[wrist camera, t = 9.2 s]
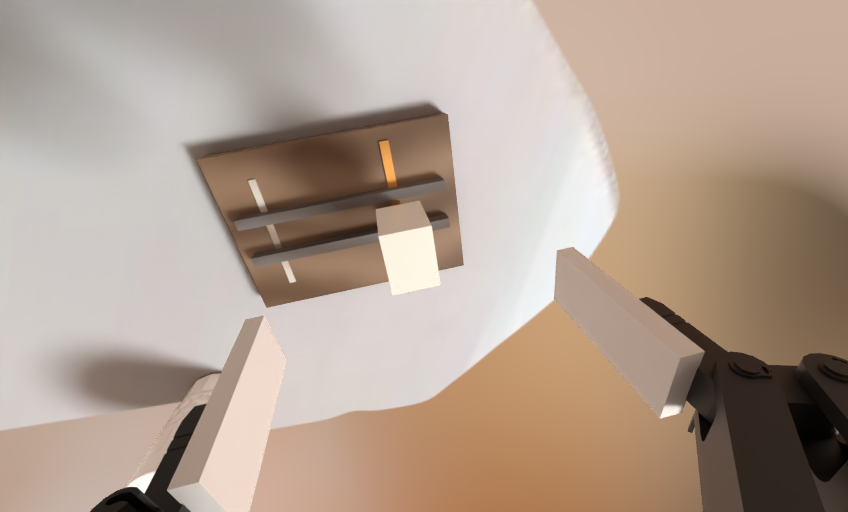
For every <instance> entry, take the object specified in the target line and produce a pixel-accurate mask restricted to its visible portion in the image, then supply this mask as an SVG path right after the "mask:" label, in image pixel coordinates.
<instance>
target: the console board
mask: <svg viewBox="0 0 848 512" xmlns="http://www.w3.org/2000/svg"><path fill="white" fill-rule="evenodd" d="M197 162H198V164H199V166H200V168H201V170H202V172H203V174H204V176H205V178H206V181H207V183H208V185H209V187H210V189H211V191H212V193H213V195H214V198H215V200H216V202H217V204H218V206H219V208H220V210H221V212H222V214H223V217H224V219H225V221H226V223H227V225H228V227H229V229H230V231H231V233H232V236H233V238H234V240H235V242H236V244H237V246H238V248H239V250H240V252H241V255H242V257H243V259H244V261H245V263H246V265H247V267H248V269H249V272H250V274H251V276H252V278H253V280H254V282H255V284H256V286H257V288H258V291H259V293H260V295H261V297H262V299H263V301H264V303H265V305H266V307H272V306H277V305H281V304H286V303H290V302H295V301H300V300H304V299H309V298H314V297H318V296H323V295H328V294H332V293H337V292H341V291H346V290H351V289H355V288H360V287H365V286H369V285H374V284H379V283H383V282H388V281H389V279H388V275H387V270H386V266H385V262H384V258H383V254H382V249H381V245H380V241H379V237H378V228H377V218H376V209H379V208H384V207H389V206H394V205H400V204H405V203H410V202H415V201H420V203H421V205H422V207H423V209H424V211H425V213H426V215H427V217H428V219H429V221H430V223H431V225H432V231H433V237H434V244H435V251H436V258H437V264H438V271H439V270H443V269H448V268H453V267H457V266H462V265H464V264H463V254H462V245H461V236H460V226H459V217H458V207H457V198H456V188H455V179H454V169H453V160H452V150H451V141H450V131H449V122H448V114H445V113H440V114H434V115H429V116H423V117H418V118H412V119H407V120H401V121H395V122H390V123H384V124H379V125H373V126H368V127H362V128H357V129H351V130H345V131H340V132H334V133H329V134H323V135H318V136H312V137H306V138H301V139H295V140H290V141H284V142H279V143H273V144H268V145H262V146H256V147H251V148H245V149H240V150H234V151H229V152H223V153H217V154H212V155H206V156H204V157H202V158H199V159H197Z"/></svg>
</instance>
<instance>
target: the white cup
mask: <svg viewBox="0 0 848 512" xmlns="http://www.w3.org/2000/svg"><path fill="white" fill-rule="evenodd" d="M220 374H221V373H218V374H210V375H208V376H205V377H203V378H201V379H198V380H197V381H196V382H195V384H194V385H193V386H192V387H191V388H190V390H189V391H188V393H187V394H186V396H185V398H184V399H183V401H182V402H181V404H180V405H179V406H178V407H177V408H176V410H175V411H174V413H173V414H172V416H171V417H170V419H169V420H168V421H167V423H166V424H165V426H164V427H163V429H162V430H161V432H160V433H159V435H158V437H157V438H156V440H155V441H154V443H153V444H152V446H151V448H150V449H149V451H148V452H147V454H146V455H145V457H144V459H143V460H142V462H141V463H140V465H139V466H138V468H137V469H136V471H135V473H134V474H133V476H132V477H131V479H130V480H129V482H128V483H127V485H126V486H125V488H126V487H137V488H139V489H140V490H141V491H142V492H143V493H144V494H145V492H146V490H147V488H148V486H149V484H150V482H151V480H152V478H153V476H154V474H155V472H156V470H157V468H158V466H159V464H160V462H161V460H162V458H163V456H164V454H166V453H167V449H168V447H169V445H170V443H171V441H172V440H173V439H174V438H173V437H174V435H175V433H176V431H177V429H178V427H179V425H180V423H181V421H182V420H183V419H184V418H185V417H186V416H187V415H188V413H189V412H190V411H191V410H192V409H193V408H194V406H198V405H202V404H206V403H207V402H208V400H209V398H210V396H211V394H212V391H213V389H214V387H215V385H216V383H217V381H218V378H219V376H220Z"/></svg>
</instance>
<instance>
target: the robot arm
mask: <svg viewBox="0 0 848 512" xmlns="http://www.w3.org/2000/svg"><path fill="white" fill-rule="evenodd" d="M554 299H555V300H556V302H557V303H558V304H559V305H560V306H561V307H562V308H563V309H564V310H565V312H566V313H567V314H568V315H569V316H570V317H571V319H572V320H573V321H574V322H575V323H576V324H577V325H578V326H579V328H580V329H581V330H582V331H583V332H584V333H585V334H586V335H587V337H588V338H589V339H590V340H591V341H592V342H593V343H594V345H595V346H596V347H597V348H598V349H599V350H600V351H601V352H602V354H603V355H604V356H605V357H606V358H607V359H608V360H609V361H610V363H611V364H612V365H613V366H614V367H615V368H616V369H617V370H618V372H619V373H620V374H621V375H622V376H623V377H624V378H625V379H626V381H627V382H628V383H629V384H630V385H631V386H632V387H633V389H634V390H635V391H636V392H637V393H638V394H639V395H640V397H641V398H642V399H643V400H644V401H645V402H646V403H647V404H648V406H649V407H650V408H651V409H652V410H653V411H654V412H655V413H656V415H657V416H658V417H659V418H664V417H667V416H671V415H675V414H678V413H682V411H683V408H684V405H685V402H686V400H687V401H688V402H689V403H690V404H691V405H692V406H693V407H694V408H695V409H696V410H695V413H694V415H693V417H692V420H691V422H690V425H689V428H688V432H691V433H692V432H693V429H694V427H695V434H696V444H697V454H698V465H699V474H700V484H701V495H702V505H703V512H848V361H847V360H844V359H842V358H838V357H836V356H832V355H826V354H820V353H818V354H808V355H806V356H804V357H803V359H802V360H801V362H800V364H799V365H798V366H781V365H767V364H766V363H764V362H763V361H761V360H759V359H757V358H755V357H753V356H750V355H747V354H744V353H738V352H727V351H726V350H724V349H723V348H721V347H720V346H719V345H717V344H716V343H715V342H713V341H712V340H711V339H709V338H708V337H707V336H705V335H704V334H703V333H701V332H700V331H699V330H697V329H696V328H695V327H693V326H692V325H691V324H689V323H686V322H685V320H684V319H682V318H681V317H680V316H678V315H675V313H674V312H673V311H671V310H670V309H669V308H668V307H666V306H665V305H664V304H662V303H660V302H657V301H655V300H653V299H650V298H648V297H645V298H641V299H638V298H637V297H635V296H634V295H633V294H632V293H630V292H629V291H628V290H626V289H625V288H624V287H623V286H621V285H620V284H619V283H618V282H616V281H615V280H614V279H613V278H611V277H610V276H609V275H607V274H606V273H605V272H604V271H602V270H601V269H600V268H599V267H597V266H596V265H595V264H594V263H592V262H591V261H590V260H589V259H587V258H586V257H585V256H584V255H582V254H581V253H580V252H578V251H577V250H576V249H575V248H573V247H571V248H566V249H562V250H557V259H556V275H555V291H554ZM286 363H287V361H286V359H285V356H284V354H283V352H282V350H281V348H280V346H279V344H278V342H277V340H276V338H275V336H274V334H273V332H272V330H271V328H270V326H269V324H268V322H267V320H266V318H265V316H260V317H255V318H251V319H246V320H245V322H244V324H243V327H242V329H241V331H240V333H239V335H238V337H237V340H236V342H235V344H234V346H233V348H232V350H231V353H230V355H229V357H228V359H227V361H226V363H225V365H224V368H223V370H222V372H221V374H220V376H219V378H218V381H217V383H216V385H215V387H214V389H213V391H212V394H211V396H210V398H209V400H208V402H207V403H206V404H202V405H198V406H194V408H193V409H192V410H191V411H190V412H189V413H188V415H187V416H186V417H185V418H184V419H183V420H182V421H181V423H180V425H179V427H178V429H177V431H176V433H175V435H174V437H173V438H174V439H173V440H172V441H171V443H170V445H169V447H168V449H167V453H166V454H164V456H163V458H162V460H161V462H160V464H159V466H158V468H157V470H156V472H155V474H154V476H153V478H152V480H151V482H150V484H149V486H148V488H147V490H146V492H145V494H144V493H143V492H142V491H141V490H140V489H139V488H137V487H126V488H123V489H120V490H118V491H116V492H114V493H113V494H111V495H109V496H108V497H106V498H105V499H103V500H102V501H101V502H100V503H99V504H98V505H96V506H95V507H94V508H93V509H92V510H91V511H90V512H249V511H250V507H251V503H252V499H253V495H254V491H255V487H256V483H257V479H258V475H259V471H260V467H261V463H262V459H263V455H264V451H265V447H266V443H267V439H268V435H269V431H270V427H271V423H272V419H273V415H274V411H275V407H276V403H277V399H278V395H279V391H280V387H281V383H282V379H283V375H284V371H285V367H286Z"/></svg>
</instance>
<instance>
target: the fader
mask: <svg viewBox="0 0 848 512" xmlns="http://www.w3.org/2000/svg"><path fill="white" fill-rule="evenodd" d="M376 218H377V228H378V237H379V241H380V245H381V249H382V254H383V258H384V262H385V266H386V270H387V275H388V279H389V283H390V287H391V291H392V296H393V295H397V294H402V293H406V292H411V291H415V290H420V289H425V288H429V287H434V286H438V285H441V284H440V278H439V271H438V264H437V258H436V251H435V244H434V237H433V231H432V225H431V223H430V221H429V219H428V217H427V215H426V213H425V211H424V209H423V207H422V205H421V203H420V201H415V202H410V203H405V204H400V205H394V206H389V207H384V208H379V209H376Z"/></svg>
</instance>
